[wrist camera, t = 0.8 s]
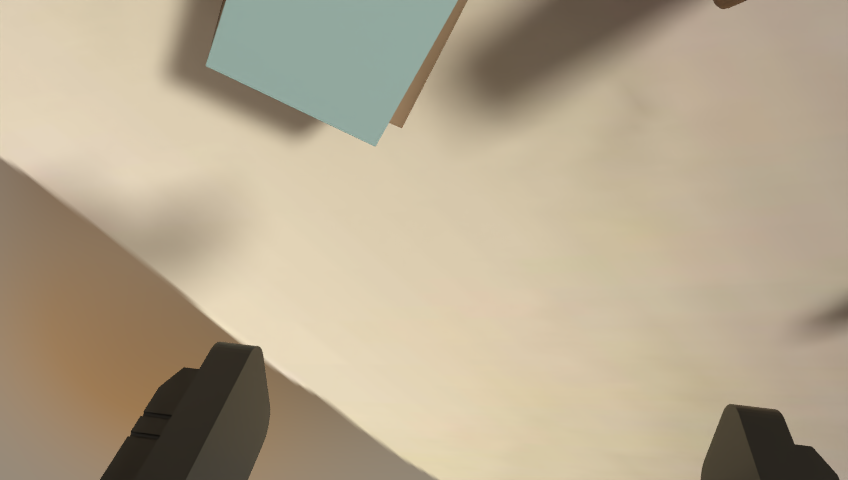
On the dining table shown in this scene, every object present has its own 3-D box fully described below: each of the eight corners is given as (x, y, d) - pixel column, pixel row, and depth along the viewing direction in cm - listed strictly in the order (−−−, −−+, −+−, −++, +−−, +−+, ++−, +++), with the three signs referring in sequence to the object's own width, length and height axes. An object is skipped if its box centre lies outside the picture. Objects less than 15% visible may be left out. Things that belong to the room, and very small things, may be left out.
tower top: (234, 24, 32) (205, 66, 29) (289, -143, 27) (261, -114, 24) (387, 100, 34) (375, 146, 31) (466, -43, 29) (460, -5, 26)
